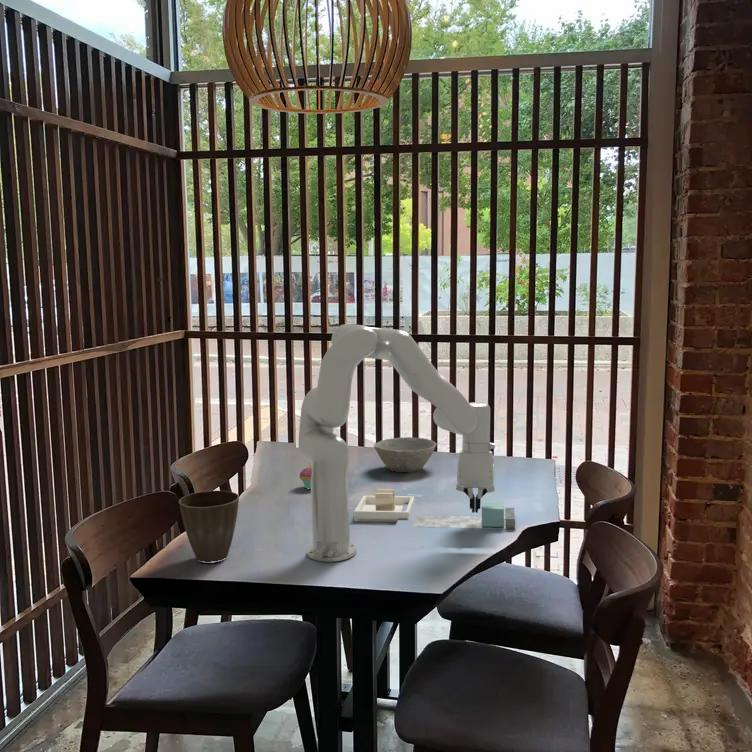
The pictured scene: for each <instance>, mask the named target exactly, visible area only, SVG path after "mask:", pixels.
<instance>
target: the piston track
mask: <svg viewBox="0 0 752 752" xmlns="http://www.w3.org/2000/svg"><path fill="white" fill-rule="evenodd" d="M504 508H505V509H504V527H490V526H482V516H468V515H467V516H464V515H462V516H461V515H419V514H417V515H416V516H415V520H414V522H413V524H412V528H414V527H415V528H416V527H417V528H446V529H447V528H453V529H454V528H455V529H489V530H490V529H491V530H492V529H494V530H496V529H497V530H499V529H500V530H515V529H516V517H515V516H516V513H515V507H504Z"/></svg>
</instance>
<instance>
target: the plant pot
mask: <svg viewBox="0 0 752 752" xmlns="http://www.w3.org/2000/svg"><path fill="white" fill-rule="evenodd" d="M239 500H240V495H239V494H238V493H236V492H233V491H228V490H206V491H198V492H194V493H190V494H186V495H185V496H183V497H181V498H179V500H178V503H179V510H180V514H181V519H182V522H183V526H184V529H185V533H186V537H187V540H188V541H189V545H190V547H191V549H192V552H193V555H194V556H195V558H196V560H197V561H198V560H199V561H205V562H211V561H218V560H222V559H224V558H226V557H227V558H228V555H229V552H230V550H231V545H232V542H233V539H234V538H233V537H234V533H235V529H236V523H237V518H238V512H239V511H238V510H239ZM227 558H226V559H227Z"/></svg>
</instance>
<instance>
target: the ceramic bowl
mask: <svg viewBox="0 0 752 752" xmlns="http://www.w3.org/2000/svg"><path fill="white" fill-rule="evenodd" d="M436 447H437V442H436V441H434V440H432V439H428V438H422V437H421V438H420V437H395V438H393V437H392V438H386V439H383V440H380V441H378V442H376V443H374V444H373V448H374V449H375V451H376V454H377V455H378V457H379V458H380V459H381V461H382V463H383V464H384V466H385V467H386V468H387V469H388V470H390V471H392V472H394V471H397V472H396V473H402V472H408V473H411V472H412V473H416V472H418V471H420V470H421V469H423V468H424V467H425V465H426V464H427V463H428V462H429V460H430V458H431V457H432V455H433V454H434V453H433V452H434V451H435V449H436Z"/></svg>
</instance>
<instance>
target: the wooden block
mask: <svg viewBox="0 0 752 752" xmlns="http://www.w3.org/2000/svg"><path fill="white" fill-rule="evenodd" d="M374 496H375V499H376V511H394V509H395V496H396V495H395V489H393V488H377V491H376V492H375V494H374Z"/></svg>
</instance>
